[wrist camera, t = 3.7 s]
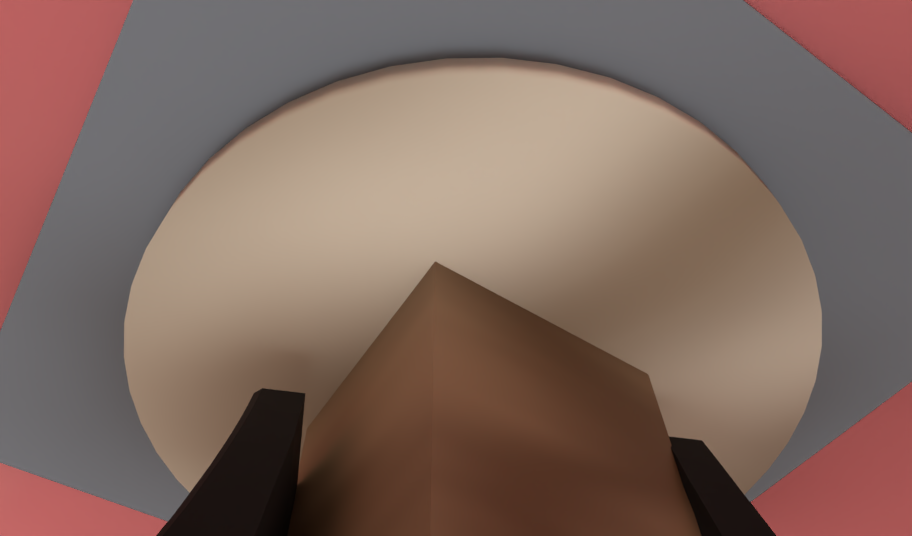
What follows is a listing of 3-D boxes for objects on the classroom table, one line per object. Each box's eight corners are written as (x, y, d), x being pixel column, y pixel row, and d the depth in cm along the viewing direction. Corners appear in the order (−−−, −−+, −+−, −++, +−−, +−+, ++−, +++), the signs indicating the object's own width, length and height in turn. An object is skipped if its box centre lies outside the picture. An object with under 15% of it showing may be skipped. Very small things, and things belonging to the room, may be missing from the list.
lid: (954, 298, 12) (1280, 646, 7) (538, 624, 17) (573, 949, 12) (338, -130, 8) (205, 15, 4) (49, 445, 13) (-158, 806, 9)
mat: (1057, 246, 12) (1073, 259, 12) (545, 638, 19) (546, 654, 19) (286, -359, 8) (280, -364, 8) (-35, 430, 14) (-47, 446, 14)
